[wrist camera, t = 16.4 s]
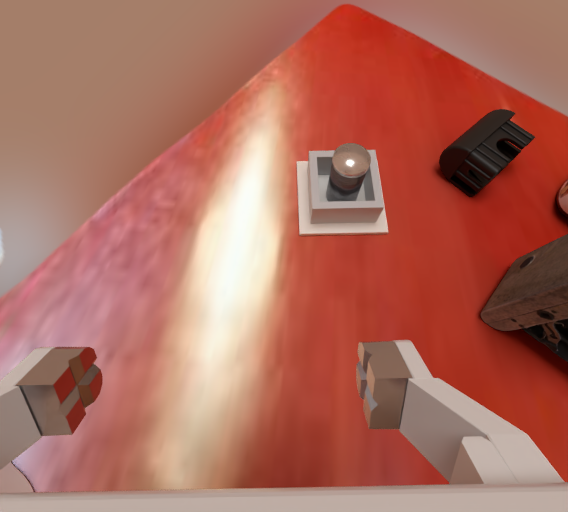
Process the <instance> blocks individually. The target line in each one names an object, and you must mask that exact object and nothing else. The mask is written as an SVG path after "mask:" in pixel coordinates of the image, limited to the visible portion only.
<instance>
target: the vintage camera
mask: <svg viewBox="0 0 568 512" xmlns="http://www.w3.org/2000/svg"><path fill="white" fill-rule="evenodd" d="M481 318H482V319H483V321H484V322H485V323H487V324H488V325H489V326H491V327H493V328H494V329H498V330H501V331H512V330H517V329H523V330H524V331H525V332H527V333H528V334H529V335H531V336H532V337H533V338H535V339H536V340H538V341H539V342H541V343H543V344H545V345H546V346H547V347H548V348H549V349H550V350H552V351H553V352H554V353H555V354H557V355H558V356H559V357H561V358H562V359H564V360H565V361H567V362H568V234H567V235H565V236H563V237H561V238H558V239H556V240H554V241H552V242H550V243H548V244H546V245H544V246H542V247H540V248H538V249H536V250H534V251H532V252H530V253H528V254H526V255H524V256H522V257H520V258H518V259H516V260H515V261H514V263H513V264H512V265H511V267H510V269H509V270H508V272H507V273H506V274H505V276H504V277H503V279H502V281H501V282H500V284H499V285H498V287H497V288H496V290H495V291H494V293H493V294H492V296H491V298H490V299H489V301H488V302H487V304H486V305H485V307H484V308H483V310H482V312H481Z"/></svg>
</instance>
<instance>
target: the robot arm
mask: <svg viewBox="0 0 568 512" xmlns="http://www.w3.org/2000/svg"><path fill="white" fill-rule="evenodd" d="M358 355H359V358H360V361H359V362H358V364H357V367H356V379H357V387H358V392H359V395H360V397H361V398H362V399H363V400H364V407H363V410H364V413H365V416H366V420H367V423H368V427H369V429H400V430H399V431H400V432H401V433H402V434H403V435H404V436H405V437H406V438H407V439H408V440H409V441H410V442H411V443H412V444H413V445H414V446H415V447H416V448H417V449H418V450H419V451H420V453H421V454H422V455H423V456H424V457H425V458H426V459H427V460H428V461H429V462H430V463H431V464H432V465H433V466H434V467H435V468H436V469H437V470H438V471H439V472H440V473H441V474H442V475H443V476H444V477H445V478H446V479H447V480H448V482H449V483H450V484H449V485H398V486H342V487H289V488H236V489H182V490H128V491H74V492H34V491H33V489H32V487H31V485H30V484H29V482H28V480H27V479H26V478H25V476H24V475H23V474H22V473H21V472H20V471H19V470H18V469H17V468H16V467H14V465H13V464H12V463H11V461H12V460H14V459H15V458H16V457H18V456H19V455H20V454H21V453H23V452H24V451H25V450H26V449H28V448H29V447H30V446H32V445H33V444H34V443H35V442H37V441H38V440H39V439H40V438H41V436H51V435H72V434H73V433H74V431H75V430H76V428H77V427H78V425H79V424H80V422H81V421H82V419H83V418H84V416H85V415H86V412H85V408H86V407H87V406H89V405H90V404H92V403H93V402H94V401H95V400H96V398H97V397H98V395H99V394H100V390H101V387H102V373H101V370H100V369H99V368H98V367H97V366H96V365H95V364H94V362H95V360H96V358H97V357H96V354H95V351H94V349H92V348H90V347H40V348H37V349H35V350H34V351H32V352H31V353H30V354H29V355H28V356H27V357H26V358H25V359H24V360H23V361H22V362H20V363H19V364H18V365H17V366H16V367H15V368H14V369H13V370H12V371H11V372H10V373H8V374H7V375H6V376H5V377H4V378H3V379H2V380H1V381H0V512H568V482H564V481H563V479H562V478H561V477H560V476H559V474H558V473H557V472H556V470H555V469H554V468H553V467H552V465H551V464H550V463H549V461H548V460H547V459H546V458H545V456H544V455H543V454H542V452H541V451H540V450H539V449H538V447H537V446H536V445H535V444H534V442H533V441H532V440H531V438H530V437H529V436H528V435H527V434H526V433H524V432H523V431H521V430H520V429H518V428H516V427H515V426H513V425H512V424H510V423H509V422H507V421H505V420H504V419H502V418H501V417H499V416H498V415H496V414H494V413H493V412H491V411H490V410H488V409H486V408H485V407H483V406H482V405H480V404H479V403H477V402H475V401H474V400H472V399H471V398H469V397H468V396H466V395H464V394H463V393H461V392H460V391H458V390H456V389H455V388H453V387H452V386H450V385H449V384H447V383H445V382H444V381H442V380H441V379H439V378H433V377H432V375H431V373H430V372H429V370H428V368H427V367H426V365H425V363H424V362H423V360H422V358H421V357H420V355H419V353H418V352H417V350H416V348H415V347H414V345H413V343H412V342H411V341H410V340H395V341H378V342H359V346H358Z"/></svg>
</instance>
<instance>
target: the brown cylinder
mask: <svg viewBox="0 0 568 512" xmlns="http://www.w3.org/2000/svg"><path fill="white" fill-rule="evenodd" d="M370 163H371V156H370V154H369V152H368V151H367V150H366V149H365V148H364V147H363V146H361V145H358V144H354V143H347V144H343V145H341V146H339V147H338V148H337V149H336V150H335V152H334V154H333V159H332V166H331V171H330V176H329V181H328V186H327V191H326V198H327V201H328V202H333V201H356V199H357V197H358V194H359V191H360V189H361V186H362V183H363V181H364V178H365V175H366V173H367V170H368V168H369V166H370Z"/></svg>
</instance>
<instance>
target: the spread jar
mask: <svg viewBox="0 0 568 512" xmlns="http://www.w3.org/2000/svg"><path fill="white" fill-rule="evenodd" d="M556 202H557V206H558V208H559V209H560V211H561V212H562V213H563V214H564V215H565V216H566V217H567V218H568V180H567V181H566V182H565V183H564V184H563V185H562V187H561V188H560V190H559V191H558V193H557V197H556Z"/></svg>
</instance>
